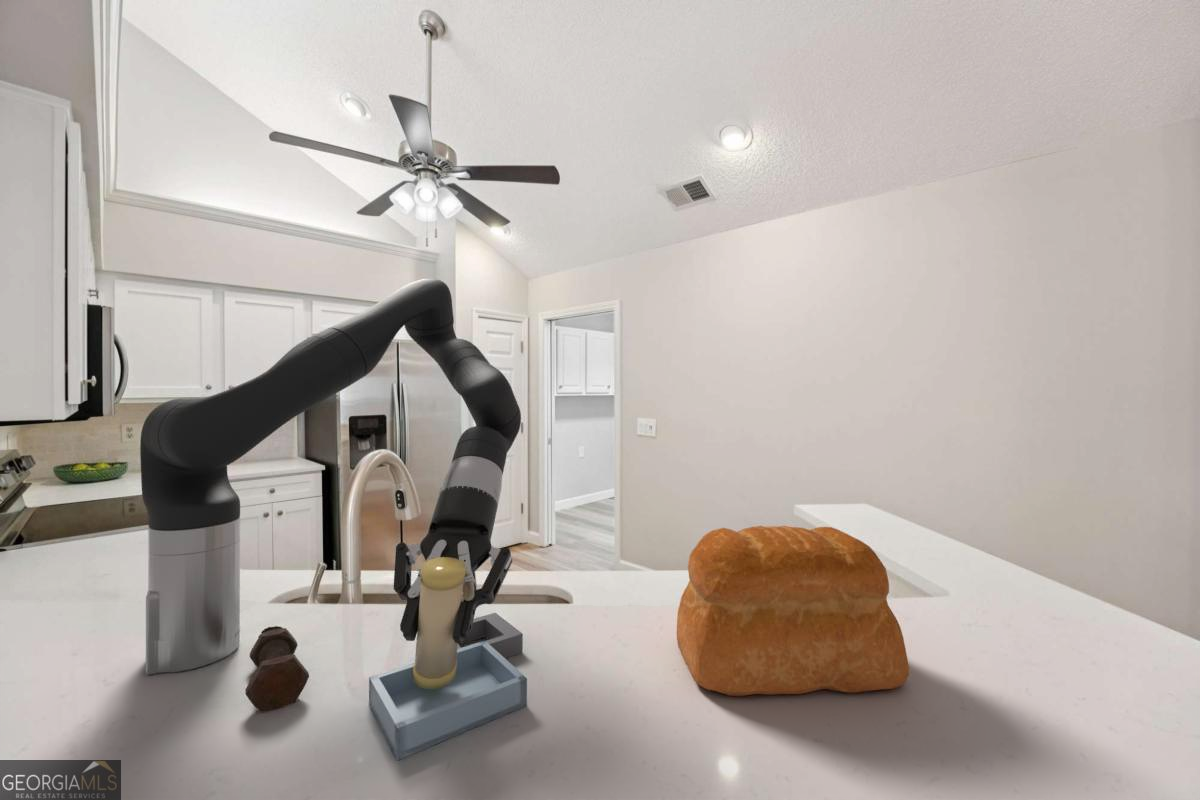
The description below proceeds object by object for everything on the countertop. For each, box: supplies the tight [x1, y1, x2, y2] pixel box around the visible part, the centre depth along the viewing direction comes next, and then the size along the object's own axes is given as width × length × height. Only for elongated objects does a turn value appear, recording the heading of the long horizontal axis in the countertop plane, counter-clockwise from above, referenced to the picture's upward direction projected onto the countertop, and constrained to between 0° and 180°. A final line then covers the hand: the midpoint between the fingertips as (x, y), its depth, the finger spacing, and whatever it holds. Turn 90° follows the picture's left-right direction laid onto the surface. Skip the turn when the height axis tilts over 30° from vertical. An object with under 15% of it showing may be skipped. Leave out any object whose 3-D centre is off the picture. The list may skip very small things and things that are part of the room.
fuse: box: [413, 557, 466, 689], centre depth 55 cm, size 5×5×13 cm
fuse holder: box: [457, 612, 524, 659], centre depth 66 cm, size 10×8×2 cm
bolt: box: [244, 625, 310, 713], centre depth 60 cm, size 6×5×15 cm
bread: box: [676, 525, 910, 697], centre depth 64 cm, size 16×26×17 cm, turn 94°
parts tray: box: [368, 640, 528, 761], centre depth 54 cm, size 14×11×3 cm
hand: (432, 638), depth 53 cm, fingers closed on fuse, 4 cm apart
